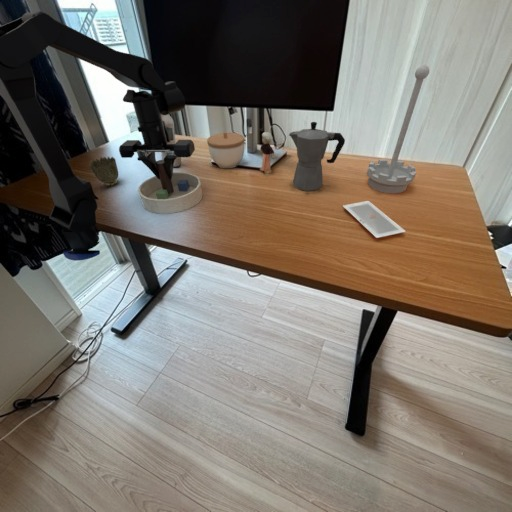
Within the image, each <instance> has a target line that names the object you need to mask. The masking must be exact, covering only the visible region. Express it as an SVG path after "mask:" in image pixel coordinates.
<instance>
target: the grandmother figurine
mask: <svg viewBox="0 0 512 512" xmlns="http://www.w3.org/2000/svg"><path fill="white" fill-rule="evenodd" d="M272 140H273V136H272V134H271V133H270V132H268V131H264V132H263V133H262V134H261V142H262V144H261V146H260V147H259V148H260V151H259V153H260V154H262V161H261V167H260V168H259V171H261V172H263V173H264V174H267V175H268V174H271V173H272V169H271V159H272V160H275V159H276V158H275V157H276V156H275V151H274V149H273V147H272V146H271V144H270V143H271V142H272Z"/></svg>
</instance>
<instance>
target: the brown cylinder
mask: <svg viewBox="0 0 512 512" xmlns="http://www.w3.org/2000/svg"><path fill="white" fill-rule="evenodd" d="M156 167H157V170H158V174H159V177H160V181H161V185H162V188H163V190H167V192H168V194H170V193H173V192H174V189H173V185H172V181H171V179H169V176H168V173H167V170H166V166H165V162H164V160H162V159H159V160H156Z"/></svg>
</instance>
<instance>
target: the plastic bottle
mask: <svg viewBox="0 0 512 512" xmlns="http://www.w3.org/2000/svg"><path fill="white" fill-rule="evenodd" d="M161 118H162V121H164V123H165V126H166V127H169V128H172V130H173V140H171V141H170V142H168V144H176V142H177V140H176V133H175V123H174V119H173V118H172V116H171V114H168V115H162V114H161ZM160 153H161V156H160V157H161V160H164V158H165V156H166V153H165V152H160ZM181 163H182V157H177V158H176V159H175V161H174V166H173V168H176V167H177V168H178V167H179V166H180V165H181Z"/></svg>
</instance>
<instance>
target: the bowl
mask: <svg viewBox="0 0 512 512" xmlns="http://www.w3.org/2000/svg"><path fill="white" fill-rule="evenodd" d="M180 180H188V184H189V189H188V190H187V192H186V191H179V189H178V185H177V183H178V182H179V181H180ZM171 181H172V185H173V189H174V192H173V193H170V194H168V195H169V198H168V199H157V196H156V193H157V191H158V190H163V188H162V185H161V181H160V179H158V178H157V177H156V176H155V175H154V176H152V177H150V178H148V179H146V180H144V181H143V182H142V183H141V184H140V185H139V186H138V189H137V192H138V195H139V199H140V201H141V203H142V206H143V208H144V209H145V210H146V211H149V212H151V213H155V214H161V215H162V214H164V215H165V214H166V215H167V214H175V213H180V212H184V211H187V210H190V209H192V208H193V207H194V206H196V205H198V204H199V203H200V202H201V200H202V199H203V196H204V195H203V189H202V183H201V179H200V178H199V177H198V176H197V175H195V174H194V173H190V172H183V171H173V175H172V179H171Z"/></svg>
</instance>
